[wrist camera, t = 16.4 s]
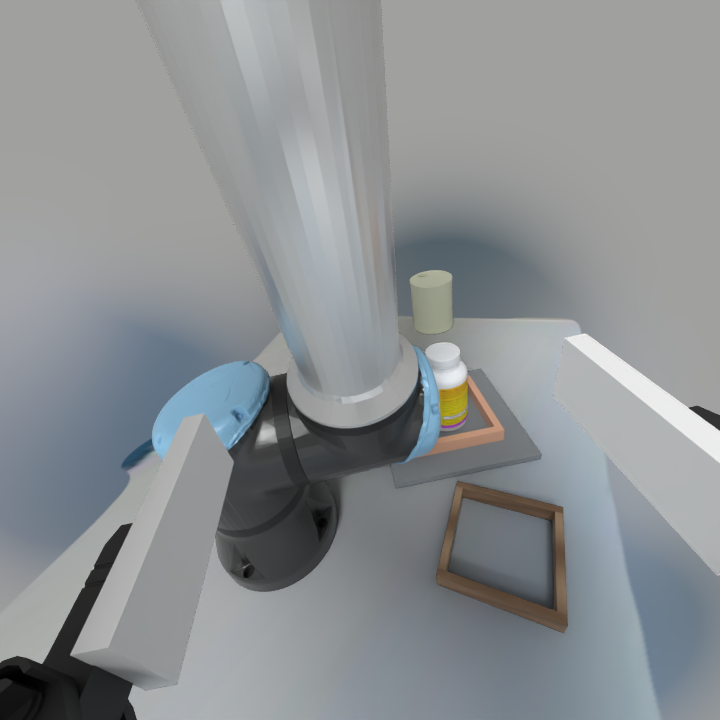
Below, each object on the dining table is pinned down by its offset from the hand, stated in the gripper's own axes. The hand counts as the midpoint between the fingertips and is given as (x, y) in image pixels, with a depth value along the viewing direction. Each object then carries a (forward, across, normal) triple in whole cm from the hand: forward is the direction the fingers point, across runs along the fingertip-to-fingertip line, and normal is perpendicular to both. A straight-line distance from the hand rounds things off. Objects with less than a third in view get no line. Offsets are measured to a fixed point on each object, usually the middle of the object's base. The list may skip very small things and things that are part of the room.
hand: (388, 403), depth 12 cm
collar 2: (+8, +10, -32) cm, 34 cm away
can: (+59, +17, -32) cm, 69 cm away
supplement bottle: (+28, +10, -31) cm, 43 cm away
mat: (+28, +10, -32) cm, 44 cm away
